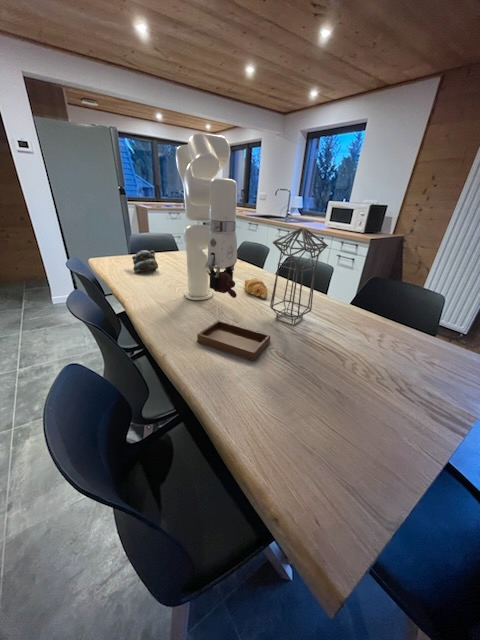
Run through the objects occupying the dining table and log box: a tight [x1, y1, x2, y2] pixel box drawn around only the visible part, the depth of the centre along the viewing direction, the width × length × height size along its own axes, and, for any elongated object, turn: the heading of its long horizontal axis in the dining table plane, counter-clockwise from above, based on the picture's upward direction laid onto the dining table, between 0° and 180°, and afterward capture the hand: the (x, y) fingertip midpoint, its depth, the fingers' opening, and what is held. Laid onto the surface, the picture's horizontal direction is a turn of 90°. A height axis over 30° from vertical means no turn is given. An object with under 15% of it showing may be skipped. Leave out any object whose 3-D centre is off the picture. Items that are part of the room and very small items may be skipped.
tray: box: [196, 319, 271, 362], centre depth 87 cm, size 13×21×3 cm, turn 62°
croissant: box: [244, 278, 268, 299], centre depth 131 cm, size 21×10×8 cm, turn 26°
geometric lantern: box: [269, 227, 329, 326], centre depth 98 cm, size 16×16×35 cm
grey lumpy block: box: [131, 248, 159, 274], centre depth 155 cm, size 15×12×14 cm
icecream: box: [212, 270, 238, 299], centre depth 83 cm, size 7×7×15 cm
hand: (221, 285), depth 84 cm, fingers closed on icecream, 7 cm apart
